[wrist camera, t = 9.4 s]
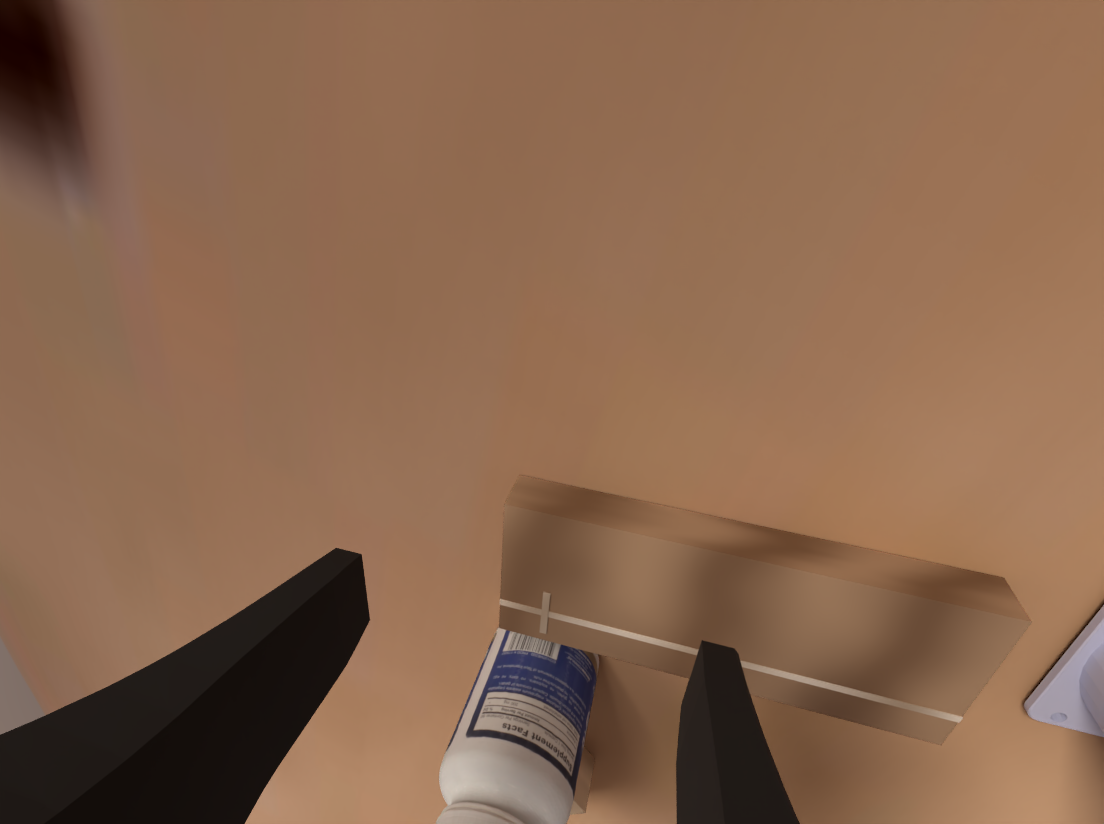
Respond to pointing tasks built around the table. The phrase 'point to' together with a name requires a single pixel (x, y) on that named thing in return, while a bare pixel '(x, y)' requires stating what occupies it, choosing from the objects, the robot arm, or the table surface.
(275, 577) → the table surface
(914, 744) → the table surface
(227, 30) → the table surface
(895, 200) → the table surface
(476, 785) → the pill bottle
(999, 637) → the board
